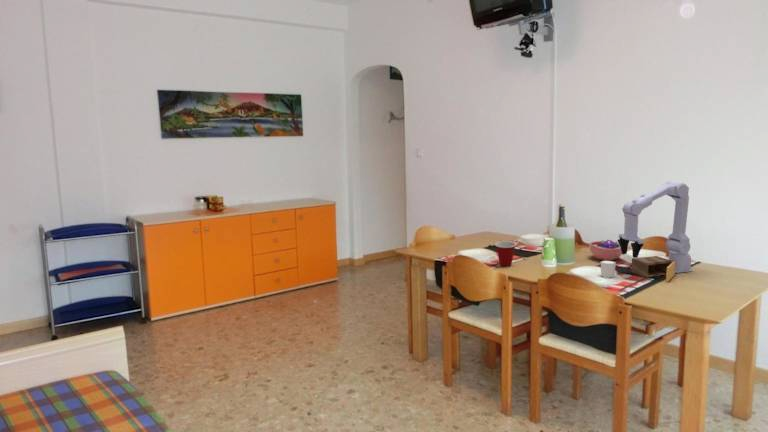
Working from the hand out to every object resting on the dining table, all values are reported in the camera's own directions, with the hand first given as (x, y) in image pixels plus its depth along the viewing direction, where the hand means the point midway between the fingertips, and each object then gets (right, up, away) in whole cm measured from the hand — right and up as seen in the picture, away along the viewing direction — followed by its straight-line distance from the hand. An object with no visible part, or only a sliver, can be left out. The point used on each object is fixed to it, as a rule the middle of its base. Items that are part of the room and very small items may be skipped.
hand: (629, 255), depth 256 cm
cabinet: (+13, -9, +5) cm, 16 cm away
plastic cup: (-53, -7, +27) cm, 60 cm away
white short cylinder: (-9, -10, +3) cm, 14 cm away
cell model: (+3, -5, +34) cm, 35 cm away
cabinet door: (+17, -10, -4) cm, 20 cm away
